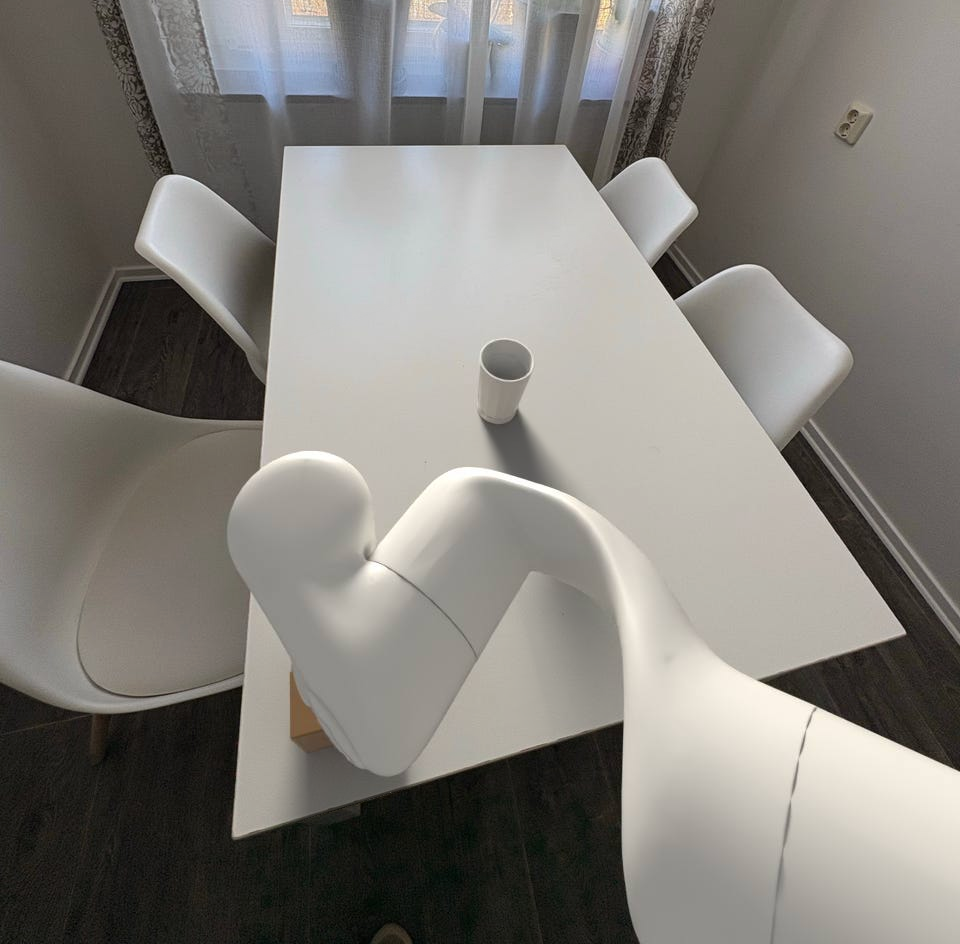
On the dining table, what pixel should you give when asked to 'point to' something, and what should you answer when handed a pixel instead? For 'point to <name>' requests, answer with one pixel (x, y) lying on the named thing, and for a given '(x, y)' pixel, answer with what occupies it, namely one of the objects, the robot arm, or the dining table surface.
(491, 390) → the cup
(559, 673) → the dining table surface
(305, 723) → the flap
